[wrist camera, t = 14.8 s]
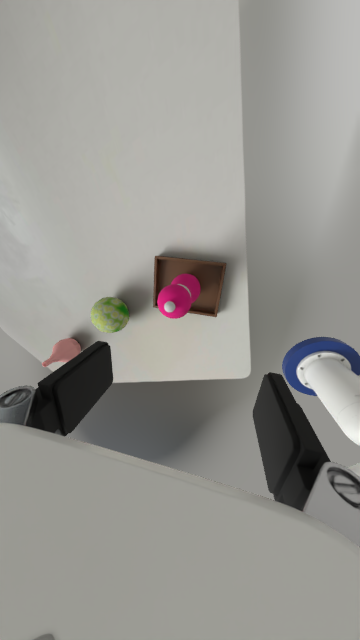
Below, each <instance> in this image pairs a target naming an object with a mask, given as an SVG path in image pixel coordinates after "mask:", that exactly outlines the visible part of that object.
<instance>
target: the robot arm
mask: <svg viewBox="0 0 360 640" xmlns="http://www.w3.org/2000/svg"><path fill="white" fill-rule="evenodd" d="M296 372H297V377H298V379H299V380H300V382H301V383H302V384H303V385H304V386H306V387H308V388H310V389H313V390H314V391H315V393H316V394H317V396H318V397H319V398H320V400H321V401H322V403H323V404H324V405H325V407H326V408H327V410H328V411H329V412H330V414H331V415H332V416H333V418H334V419H335V421H336V422H337V424H338V425H339V427H340V428H341V429H342V431H343V432H344V433H345V435H346V436H347V437H348V438H349V439H351V440H352V441H353V442H354V443H356V444H357V445H359V446H360V376H357V375H356V374H355V373H354V372H353V371H351V365H350V363H349V361H348V360H347V359H346V358H345V357H343V356H342V355H340V354H339V353H336V352H332V351H319V352H315V353H312V354H310V355H308V356H306V357H305V358H304V359H302V360H301V362H300V363H299V364H298V366H297V370H296ZM112 382H113V373H112V361H111V350H110V346H109V345H108V343H107V342H101V341H97V342H95V343H94V344H93V345H91V346H90V347H88V348H87V349H85V350H84V351H83V352H81V353H80V354H78V355H77V356H76V357H74V358H73V359H71V360H70V361H68V362H67V363H66V364H64V365H63V366H61V367H60V368H59V369H57V370H56V371H54V372H53V373H52V374H50V375H49V376H47V377H46V378H44V379H43V380H42V381H40V382H39V383H38V386H39V387H38V388H37V389H34V387H32V386H19V387H16V388H13V389H11V390H8V391H6V392H4V393H3V394H1V395H0V640H360V463H358V464H355V465H352V466H350V467H347V468H346V467H345V466H342V465H340V464H338V463H335V462H331V461H330V459H329V458H328V456H327V454H326V452H325V450H324V448H323V447H322V445H321V443H320V441H319V439H318V438H317V436H316V434H315V432H314V430H313V428H312V426H311V425H310V423H309V421H308V419H307V417H306V415H305V414H304V412H303V410H302V408H301V407H300V405H299V404H297V403H296V401H295V399H294V397H293V395H292V393H291V392H290V390H289V388H288V386H287V384H286V382H285V380H284V378H283V377H282V375H280V374H275V373H268V375H264V378H263V381H262V384H261V387H260V390H259V393H258V396H257V400H256V403H255V406H254V409H253V419H254V424H255V429H256V433H257V438H258V443H259V447H260V451H261V457H262V461H263V466H264V471H265V475H266V480H267V485H268V488H269V491H270V493H273V494H274V499H275V501H274V500H272V499H269V498H266V497H263V496H259V495H256V494H253V493H250V492H247V491H244V490H241V489H238V488H235V487H232V486H229V485H225V484H222V483H219V482H216V481H212V480H209V479H206V478H202V477H199V476H196V475H193V474H189V473H186V472H182V471H179V470H176V469H173V468H169V467H166V466H163V465H160V464H156V463H152V462H149V461H146V460H142V459H140V458H136V457H132V456H129V455H126V454H123V453H119V452H116V451H113V450H109V449H106V448H103V447H99V446H96V445H92V444H88V443H85V442H82V441H78V440H75V439H71V438H68V437H65V436H66V435H67V434H68V433H71V432H72V431H73V430H74V429H75V427H76V426H77V425H78V424H79V423H80V421H81V420H82V419H83V418H84V417H85V415H86V414H87V413H88V412H89V411H90V409H91V408H92V407H93V406H94V405H95V403H96V402H97V401H98V400H99V399H100V397H101V396H102V395H103V394H104V393H105V391H106V390H107V389H108V388H109V387H110V385H111V384H112Z"/></svg>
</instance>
